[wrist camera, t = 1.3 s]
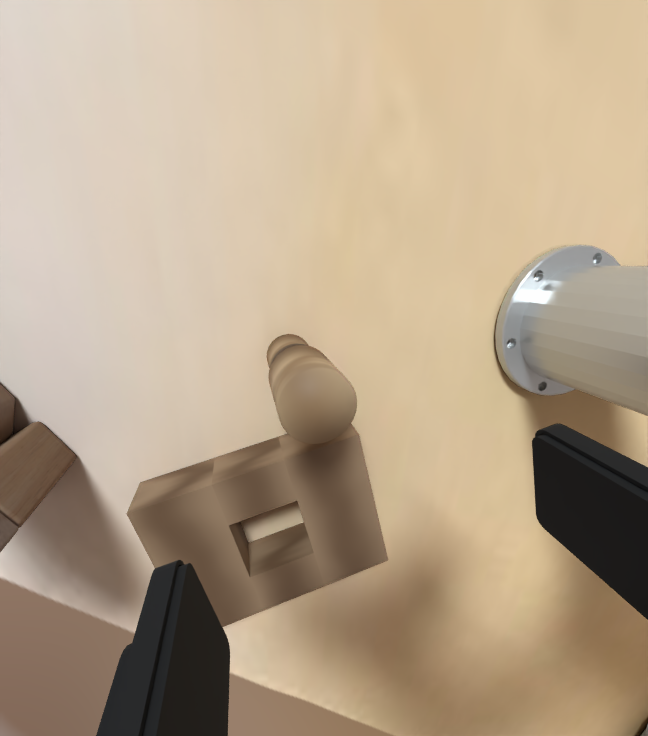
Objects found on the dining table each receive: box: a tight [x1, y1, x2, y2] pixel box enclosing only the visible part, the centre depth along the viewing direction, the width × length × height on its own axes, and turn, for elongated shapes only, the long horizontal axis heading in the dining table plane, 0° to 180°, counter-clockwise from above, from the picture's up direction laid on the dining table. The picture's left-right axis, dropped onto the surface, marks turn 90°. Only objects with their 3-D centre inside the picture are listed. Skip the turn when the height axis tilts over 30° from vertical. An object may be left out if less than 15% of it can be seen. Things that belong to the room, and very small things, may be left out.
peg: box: [267, 334, 357, 444], centre depth 22 cm, size 4×4×10 cm
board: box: [127, 424, 388, 627], centre depth 28 cm, size 16×12×4 cm
